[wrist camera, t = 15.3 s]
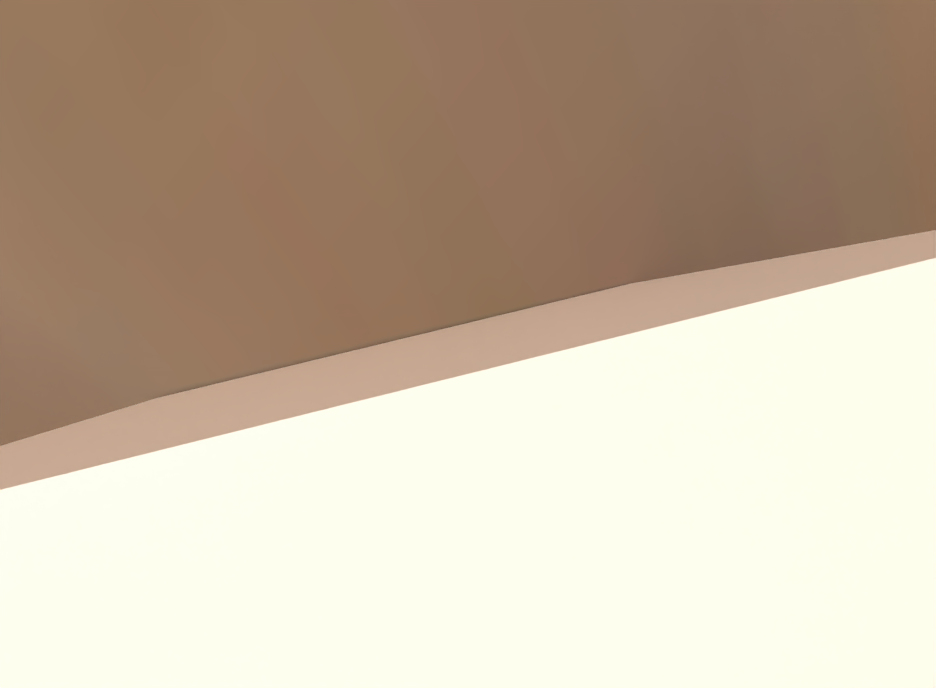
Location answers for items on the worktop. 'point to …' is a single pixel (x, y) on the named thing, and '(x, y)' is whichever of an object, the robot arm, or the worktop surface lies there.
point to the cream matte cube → (514, 502)
